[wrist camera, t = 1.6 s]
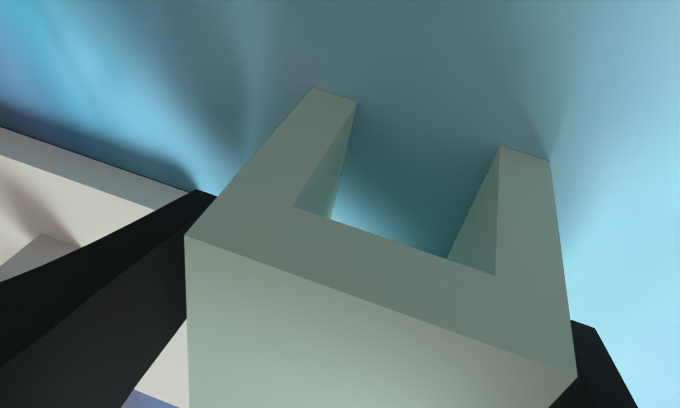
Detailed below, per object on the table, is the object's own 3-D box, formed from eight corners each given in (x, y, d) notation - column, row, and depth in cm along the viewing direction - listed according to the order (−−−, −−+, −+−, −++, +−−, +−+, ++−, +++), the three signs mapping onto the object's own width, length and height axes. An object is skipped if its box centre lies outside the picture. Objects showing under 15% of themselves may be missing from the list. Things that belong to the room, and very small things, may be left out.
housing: (449, 336, 13) (422, 538, 9) (282, 276, 14) (191, 442, 10) (549, 160, 9) (577, 376, 5) (313, 86, 10) (184, 235, 6)
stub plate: (202, 388, 19) (150, 477, 16) (29, 319, 20) (-48, 393, 17) (202, 197, 13) (117, 290, 10) (-52, 108, 13) (-195, 172, 11)
